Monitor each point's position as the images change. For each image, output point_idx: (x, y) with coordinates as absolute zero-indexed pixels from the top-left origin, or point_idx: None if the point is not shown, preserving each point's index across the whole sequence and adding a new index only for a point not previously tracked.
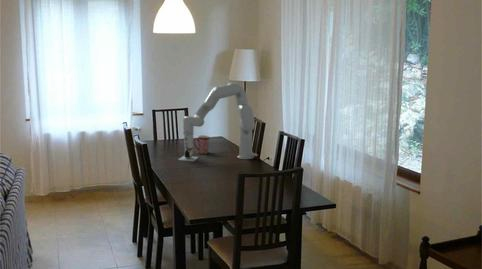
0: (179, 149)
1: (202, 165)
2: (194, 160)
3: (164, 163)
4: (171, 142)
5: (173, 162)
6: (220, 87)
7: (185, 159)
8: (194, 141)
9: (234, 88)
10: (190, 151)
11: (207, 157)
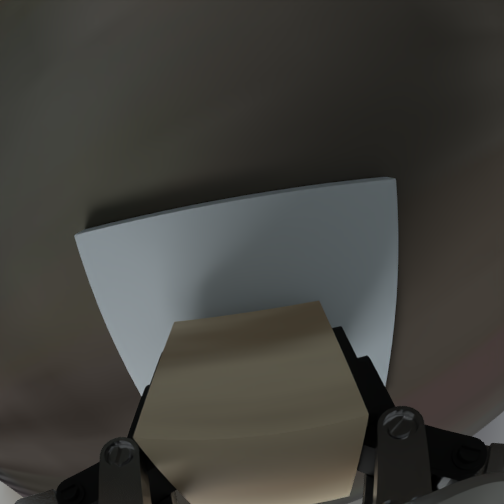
0: (30, 462)
1: (484, 3)
2: (335, 183)
3: (487, 399)
4: (6, 478)
5: (463, 376)
6: None
7: (367, 342)
8: None
9: None
10: (365, 410)
11: (4, 124)
